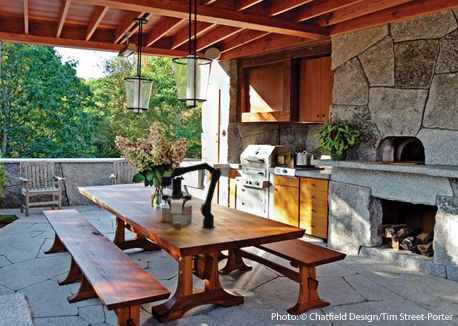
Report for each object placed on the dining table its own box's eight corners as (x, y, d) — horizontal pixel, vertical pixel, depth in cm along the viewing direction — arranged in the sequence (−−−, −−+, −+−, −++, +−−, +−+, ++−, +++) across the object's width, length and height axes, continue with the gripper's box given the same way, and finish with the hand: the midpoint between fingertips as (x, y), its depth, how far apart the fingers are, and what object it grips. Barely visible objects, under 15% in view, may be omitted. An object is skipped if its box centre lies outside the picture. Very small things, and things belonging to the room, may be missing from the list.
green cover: (186, 224, 283) (187, 215, 282) (181, 226, 277) (181, 217, 276) (178, 223, 286) (178, 214, 286) (172, 224, 280) (172, 216, 280)
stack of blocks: (161, 220, 294) (161, 203, 293) (167, 219, 299) (167, 202, 298) (186, 224, 283) (186, 206, 282) (192, 222, 289) (192, 205, 288)
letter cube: (181, 228, 272) (181, 221, 272) (181, 229, 268) (181, 223, 268) (175, 228, 272) (175, 221, 272) (174, 229, 268) (174, 223, 268)
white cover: (182, 211, 273) (182, 202, 273) (181, 213, 266) (182, 204, 266) (171, 210, 273) (172, 201, 272) (170, 212, 266) (171, 203, 265)
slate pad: (174, 227, 273) (174, 226, 273) (164, 230, 265) (164, 229, 265) (165, 225, 278) (165, 224, 278) (155, 227, 271) (155, 227, 271)
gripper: (160, 188, 260) (160, 212, 261) (191, 188, 261) (190, 213, 262) (162, 185, 271) (162, 209, 272) (191, 186, 272) (191, 209, 273)
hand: (176, 210), depth 269 cm, fingers closed on white cover, 7 cm apart
